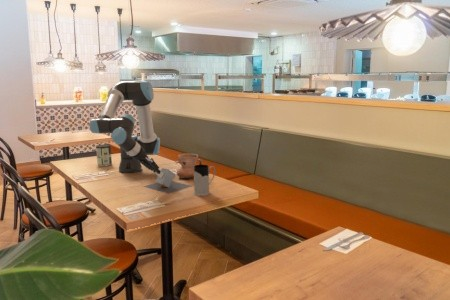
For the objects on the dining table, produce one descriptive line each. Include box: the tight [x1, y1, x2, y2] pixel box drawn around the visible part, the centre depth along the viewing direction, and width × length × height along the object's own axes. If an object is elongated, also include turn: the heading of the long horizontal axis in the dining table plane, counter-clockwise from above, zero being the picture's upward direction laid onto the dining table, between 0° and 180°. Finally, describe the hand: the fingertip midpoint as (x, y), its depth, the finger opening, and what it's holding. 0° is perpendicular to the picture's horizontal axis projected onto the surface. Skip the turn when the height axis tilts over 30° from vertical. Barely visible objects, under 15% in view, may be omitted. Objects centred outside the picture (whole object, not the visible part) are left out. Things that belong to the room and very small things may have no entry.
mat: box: [143, 180, 193, 194], centre depth 216 cm, size 22×18×1 cm
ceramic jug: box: [175, 153, 203, 180], centre depth 236 cm, size 18×14×14 cm
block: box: [154, 167, 176, 188], centre depth 214 cm, size 6×6×9 cm
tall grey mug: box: [193, 164, 216, 197], centre depth 204 cm, size 9×14×15 cm, turn 135°
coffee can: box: [95, 144, 113, 167], centre depth 274 cm, size 10×10×14 cm
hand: (161, 175), depth 211 cm, fingers closed
